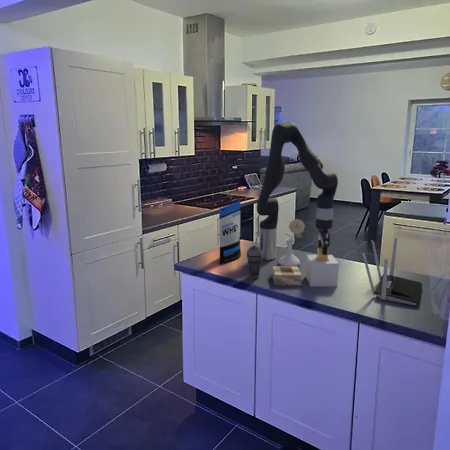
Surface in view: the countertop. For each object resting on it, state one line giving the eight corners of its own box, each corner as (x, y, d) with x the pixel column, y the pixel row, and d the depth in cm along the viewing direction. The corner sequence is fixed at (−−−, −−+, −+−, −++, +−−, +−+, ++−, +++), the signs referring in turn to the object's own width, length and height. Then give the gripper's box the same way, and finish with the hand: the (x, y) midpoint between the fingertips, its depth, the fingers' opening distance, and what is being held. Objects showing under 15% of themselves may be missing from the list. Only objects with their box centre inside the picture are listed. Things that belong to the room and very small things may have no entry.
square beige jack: (272, 275, 191) (272, 266, 190) (297, 275, 191) (297, 266, 189) (274, 285, 179) (275, 275, 178) (301, 285, 179) (301, 275, 178)
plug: (316, 263, 184) (317, 243, 181) (325, 263, 184) (326, 243, 181) (318, 266, 180) (319, 245, 177) (327, 266, 180) (328, 245, 177)
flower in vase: (276, 267, 202) (277, 220, 196) (280, 260, 212) (281, 215, 206) (301, 270, 198) (303, 222, 192) (304, 262, 208) (306, 216, 202)
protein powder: (212, 263, 209) (211, 207, 202) (232, 250, 230) (232, 200, 222) (227, 266, 205) (227, 209, 197) (247, 252, 225) (248, 201, 218)
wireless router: (417, 313, 152) (423, 264, 147) (355, 301, 163) (359, 255, 158) (422, 283, 181) (427, 241, 176) (369, 274, 192) (373, 235, 187)
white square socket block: (305, 276, 190) (306, 254, 187) (330, 276, 189) (332, 254, 187) (310, 286, 178) (311, 263, 175) (337, 286, 178) (338, 263, 175)
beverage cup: (250, 273, 194) (251, 234, 189) (264, 276, 190) (264, 236, 185) (243, 278, 188) (243, 238, 183) (257, 281, 184) (258, 240, 179)
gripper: (312, 214, 183) (311, 247, 187) (319, 220, 169) (317, 256, 173) (329, 213, 183) (327, 247, 187) (336, 220, 169) (334, 256, 173)
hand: (322, 251), depth 180 cm, fingers open, 8 cm apart
